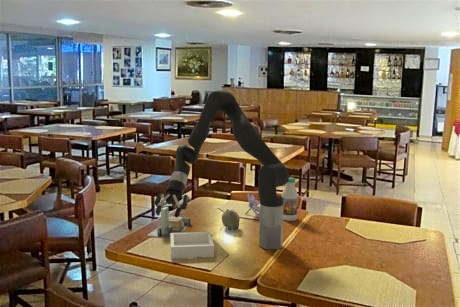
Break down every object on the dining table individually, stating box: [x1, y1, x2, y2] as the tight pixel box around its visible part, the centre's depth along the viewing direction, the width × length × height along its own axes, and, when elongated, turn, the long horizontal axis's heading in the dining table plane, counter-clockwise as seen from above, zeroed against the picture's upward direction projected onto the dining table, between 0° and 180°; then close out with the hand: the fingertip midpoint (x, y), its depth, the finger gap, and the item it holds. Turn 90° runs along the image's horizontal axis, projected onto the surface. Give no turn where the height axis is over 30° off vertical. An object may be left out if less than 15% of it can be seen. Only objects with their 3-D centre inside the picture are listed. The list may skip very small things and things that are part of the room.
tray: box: [169, 231, 215, 260], centre depth 185 cm, size 16×16×4 cm
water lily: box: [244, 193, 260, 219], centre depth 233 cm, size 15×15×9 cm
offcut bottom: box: [169, 222, 184, 231], centre depth 209 cm, size 6×8×2 cm
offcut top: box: [169, 216, 182, 226], centre depth 209 cm, size 6×7×2 cm
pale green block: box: [160, 206, 170, 235], centre depth 201 cm, size 4×2×11 cm, turn 163°
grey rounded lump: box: [221, 209, 241, 231], centre depth 211 cm, size 9×8×10 cm
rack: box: [146, 215, 192, 239], centre depth 207 cm, size 20×12×4 cm, turn 163°
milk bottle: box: [281, 176, 299, 222], centre depth 227 cm, size 8×8×20 cm
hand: (166, 215), depth 203 cm, fingers open, 8 cm apart
